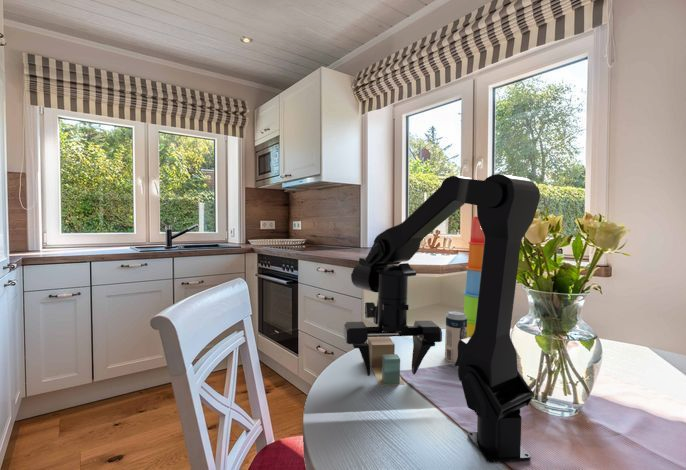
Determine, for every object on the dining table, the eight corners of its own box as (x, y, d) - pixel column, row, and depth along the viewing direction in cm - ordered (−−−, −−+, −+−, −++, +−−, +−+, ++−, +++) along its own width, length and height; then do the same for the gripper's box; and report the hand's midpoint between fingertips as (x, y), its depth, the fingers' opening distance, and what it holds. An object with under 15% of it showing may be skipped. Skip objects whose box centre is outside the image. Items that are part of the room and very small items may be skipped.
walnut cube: (394, 366, 79) (394, 344, 79) (371, 367, 79) (372, 344, 79) (388, 358, 84) (389, 337, 84) (367, 358, 84) (368, 337, 84)
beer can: (467, 368, 82) (468, 316, 81) (445, 366, 83) (446, 314, 82) (464, 360, 86) (465, 310, 86) (443, 358, 87) (445, 309, 87)
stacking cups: (452, 341, 100) (456, 216, 99) (488, 340, 101) (491, 217, 100) (469, 355, 90) (473, 216, 89) (508, 354, 91) (513, 216, 90)
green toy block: (404, 389, 71) (405, 359, 71) (379, 390, 70) (380, 359, 70) (388, 361, 85) (388, 336, 85) (367, 362, 84) (367, 336, 84)
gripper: (424, 288, 80) (423, 357, 81) (341, 289, 78) (340, 360, 79) (444, 299, 69) (442, 379, 70) (347, 300, 67) (346, 382, 68)
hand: (391, 374), depth 72 cm, fingers open, 9 cm apart
